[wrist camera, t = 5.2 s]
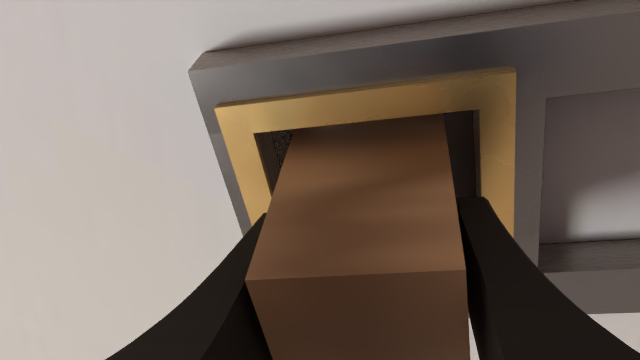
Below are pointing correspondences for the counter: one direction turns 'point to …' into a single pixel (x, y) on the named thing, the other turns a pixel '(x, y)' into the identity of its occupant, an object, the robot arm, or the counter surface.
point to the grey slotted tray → (440, 111)
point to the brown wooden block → (363, 246)
